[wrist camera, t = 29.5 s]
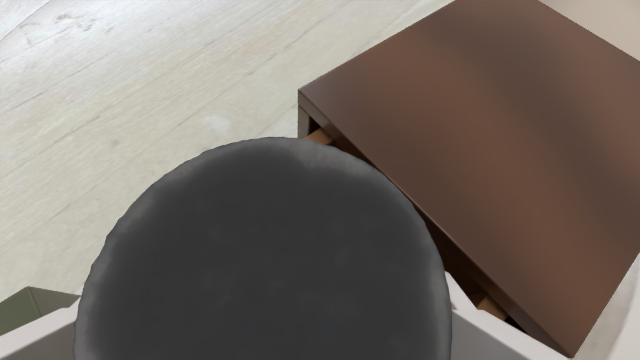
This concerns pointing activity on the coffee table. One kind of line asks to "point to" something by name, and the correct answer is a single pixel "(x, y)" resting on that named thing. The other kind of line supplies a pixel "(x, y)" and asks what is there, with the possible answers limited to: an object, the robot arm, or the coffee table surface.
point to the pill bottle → (267, 264)
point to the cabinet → (503, 151)
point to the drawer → (43, 302)
